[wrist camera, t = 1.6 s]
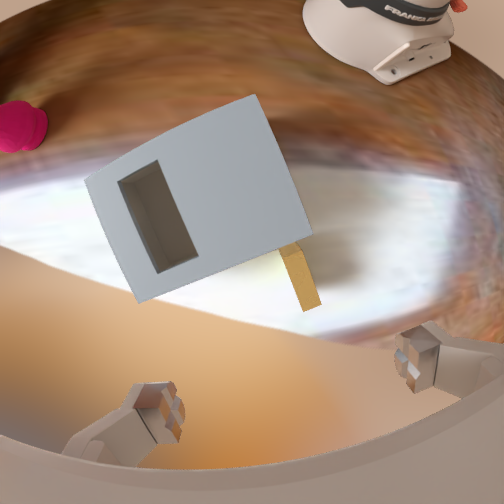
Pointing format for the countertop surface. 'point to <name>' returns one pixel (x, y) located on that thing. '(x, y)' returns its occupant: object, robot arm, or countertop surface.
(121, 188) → the coin box
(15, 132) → the pepper mill
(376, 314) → the countertop surface
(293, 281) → the block
